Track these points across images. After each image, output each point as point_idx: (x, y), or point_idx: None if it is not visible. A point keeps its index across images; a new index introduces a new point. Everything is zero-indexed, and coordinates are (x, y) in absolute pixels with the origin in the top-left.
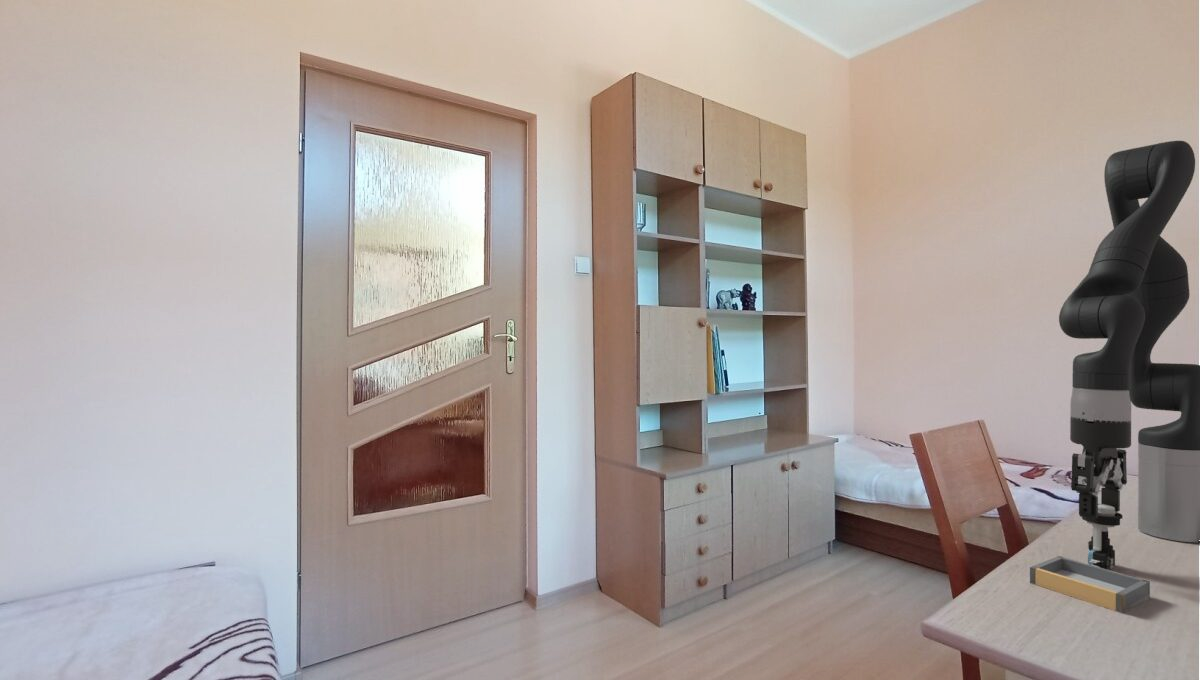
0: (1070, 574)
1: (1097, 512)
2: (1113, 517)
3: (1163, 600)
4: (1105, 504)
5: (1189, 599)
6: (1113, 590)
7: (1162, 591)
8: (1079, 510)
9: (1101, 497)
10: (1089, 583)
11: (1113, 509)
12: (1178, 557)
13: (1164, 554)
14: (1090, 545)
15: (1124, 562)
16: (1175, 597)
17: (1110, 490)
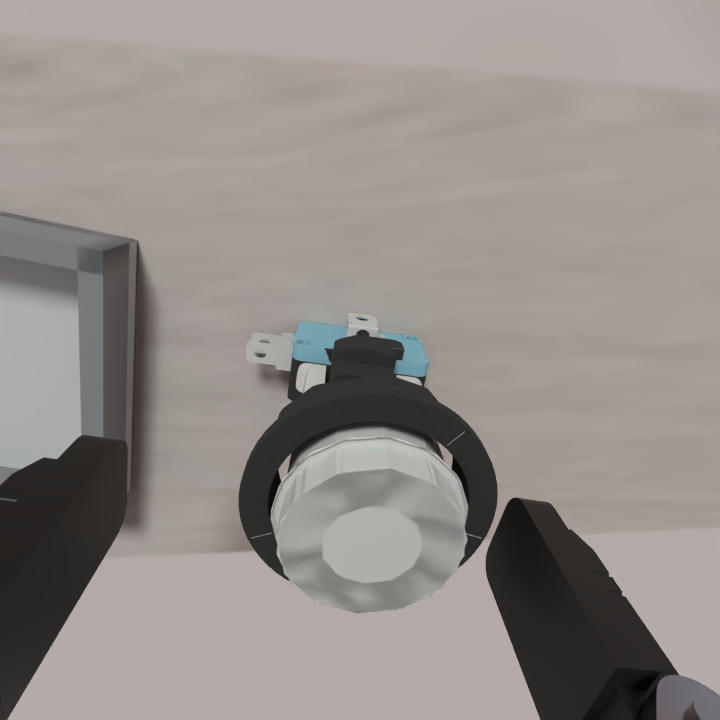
0: (69, 296)
1: (94, 563)
2: (280, 572)
3: (148, 512)
4: (523, 544)
5: (227, 550)
6: (39, 426)
7: (236, 504)
8: (56, 460)
9: (560, 568)
10: (32, 362)
11: (340, 607)
12: (678, 506)
13: (691, 477)
14: (335, 353)
15: (482, 401)
16: (210, 529)
17: (577, 707)
